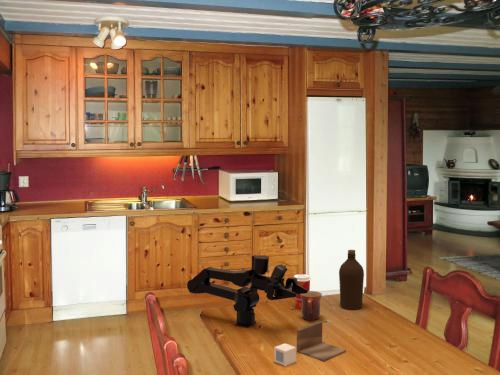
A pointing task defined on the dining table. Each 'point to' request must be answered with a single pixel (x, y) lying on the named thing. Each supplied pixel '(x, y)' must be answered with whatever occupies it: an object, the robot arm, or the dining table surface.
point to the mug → (311, 305)
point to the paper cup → (305, 283)
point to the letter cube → (285, 354)
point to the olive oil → (351, 283)
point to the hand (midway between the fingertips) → (302, 293)
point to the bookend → (315, 343)
